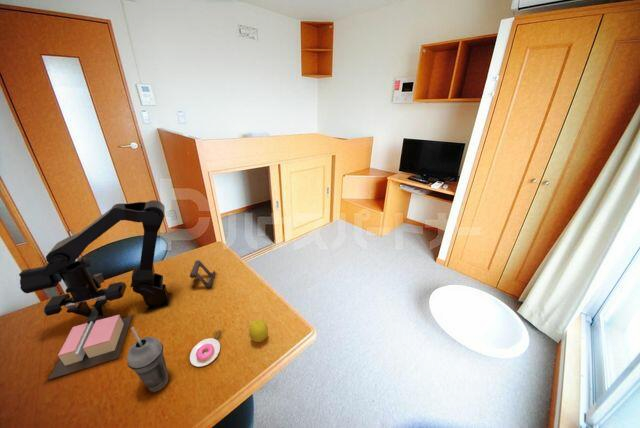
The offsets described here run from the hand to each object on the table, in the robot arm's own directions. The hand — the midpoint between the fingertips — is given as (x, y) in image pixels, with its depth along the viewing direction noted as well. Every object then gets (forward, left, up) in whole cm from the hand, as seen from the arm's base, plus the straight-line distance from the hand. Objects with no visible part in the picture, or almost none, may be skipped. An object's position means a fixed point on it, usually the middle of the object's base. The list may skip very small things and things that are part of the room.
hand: (98, 316), depth 79 cm
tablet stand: (-32, -7, -2) cm, 33 cm away
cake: (-5, +10, -1) cm, 12 cm away
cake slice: (+2, +11, -1) cm, 11 cm away
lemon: (-48, +28, -2) cm, 56 cm away
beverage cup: (-21, +30, -2) cm, 37 cm away
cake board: (-2, +10, -2) cm, 11 cm away
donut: (-33, +25, -2) cm, 42 cm away
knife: (0, +6, -1) cm, 6 cm away
